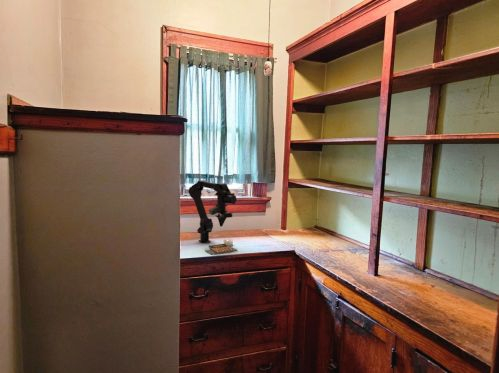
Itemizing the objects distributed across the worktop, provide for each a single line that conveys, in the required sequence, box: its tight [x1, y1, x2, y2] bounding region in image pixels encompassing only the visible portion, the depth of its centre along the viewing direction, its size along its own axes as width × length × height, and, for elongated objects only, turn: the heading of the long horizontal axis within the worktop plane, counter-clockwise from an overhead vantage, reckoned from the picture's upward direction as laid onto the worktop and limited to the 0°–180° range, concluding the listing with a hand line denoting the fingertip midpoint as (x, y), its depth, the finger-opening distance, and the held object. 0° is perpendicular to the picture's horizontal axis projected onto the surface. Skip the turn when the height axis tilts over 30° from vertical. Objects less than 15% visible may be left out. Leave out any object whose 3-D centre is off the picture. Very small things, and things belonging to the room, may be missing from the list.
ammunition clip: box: [208, 243, 232, 253], centre depth 193 cm, size 11×2×12 cm
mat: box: [204, 246, 238, 256], centre depth 194 cm, size 9×18×1 cm, turn 124°
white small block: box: [223, 238, 234, 247], centre depth 207 cm, size 6×6×4 cm
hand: (221, 226), depth 206 cm, fingers closed
